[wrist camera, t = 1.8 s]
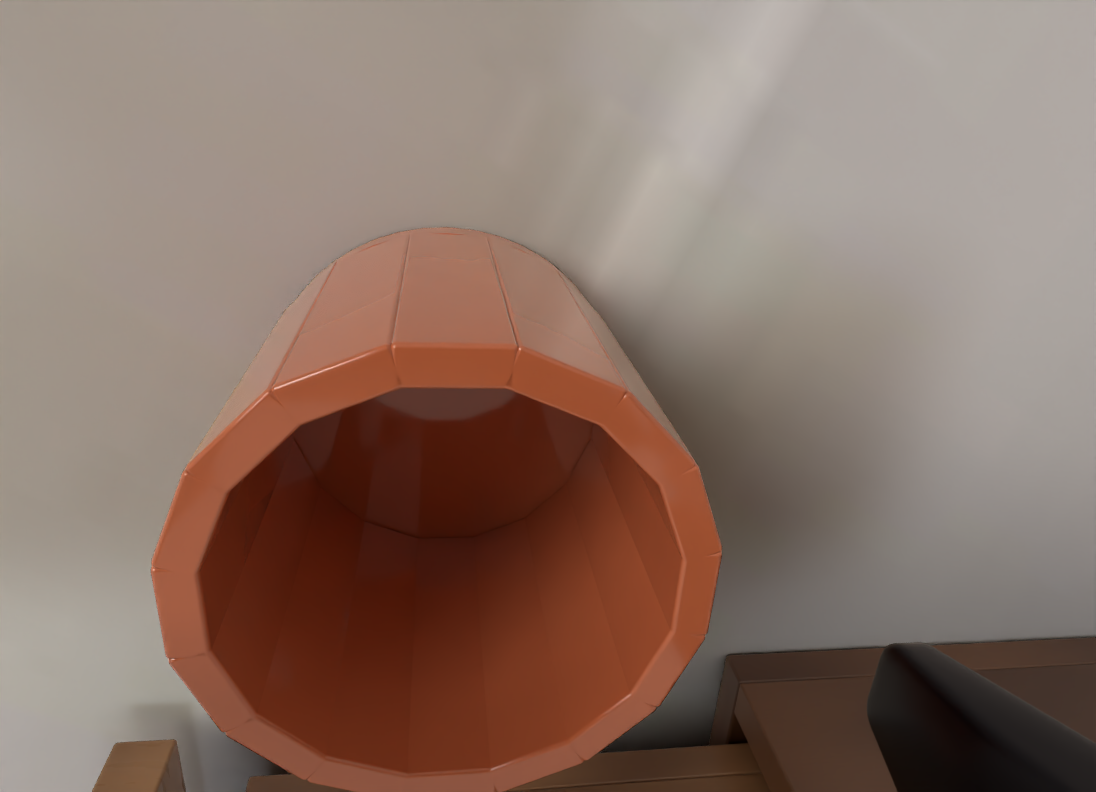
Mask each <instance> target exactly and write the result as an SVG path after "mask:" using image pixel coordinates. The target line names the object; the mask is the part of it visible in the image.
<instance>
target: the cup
mask: <svg viewBox="0 0 1096 792" xmlns="http://www.w3.org/2000/svg"><path fill="white" fill-rule="evenodd" d="M721 551H722V544H721V541H720V537H719V534H718V531H717V527H716V524H715V520H714V517H713V513H712V510H711V507H710V503H709V500H708V496H707V493H706V489H705V486H704V482H703V479H702V476H701V472H700V469H699V466H698V465H697V463H696V462H695V460H694V458H693V456H692V455H691V453H690V452H689V450H688V449H687V447H686V446H685V444H684V443H683V441H682V440H681V438H680V437H679V435H678V433H677V432H676V430H675V429H674V427H673V426H672V424H671V423H670V421H669V420H668V418H667V417H666V415H665V414H664V412H663V411H662V409H661V407H660V406H659V404H658V403H657V401H656V400H655V398H654V397H653V395H652V394H651V392H650V391H649V389H648V388H647V386H646V385H645V383H644V382H643V380H642V378H641V377H640V375H639V374H638V372H637V371H636V369H635V368H634V366H633V365H632V363H631V362H630V360H629V359H628V357H627V356H626V354H625V352H624V351H623V349H622V348H621V346H620V345H619V343H618V342H617V340H616V339H615V337H614V336H613V334H612V333H611V331H610V330H609V328H608V326H607V325H606V323H605V322H604V320H603V319H602V317H601V316H600V315H599V314H598V313H597V312H596V310H595V309H594V308H593V307H592V306H591V305H590V304H589V302H588V301H587V300H586V298H585V297H584V296H583V295H582V293H581V292H580V291H579V290H578V288H577V287H576V286H575V285H574V284H573V283H572V282H571V281H570V280H569V279H568V278H567V277H566V276H565V275H564V274H563V273H562V272H561V271H560V270H559V269H558V268H556V267H555V266H554V265H552V264H551V263H550V262H548V261H547V260H545V259H544V258H543V257H541V256H540V255H538V254H536V253H535V252H533V251H531V250H529V249H527V248H525V247H524V246H522V245H520V244H518V243H515V242H512V241H510V240H507V239H504V238H502V237H499V236H497V235H492V234H488V233H484V232H480V231H475V230H469V229H459V228H450V227H443V228H421V229H415V230H408V231H402V232H397V233H394V234H391V235H387V236H384V237H381V238H377V239H375V240H372V241H370V242H368V243H366V244H364V245H361V246H359V247H357V248H355V249H353V250H351V251H350V252H348V253H346V254H345V255H343V256H342V257H340V258H338V259H337V260H335V261H334V262H332V263H331V264H330V265H329V266H328V267H326V268H325V269H324V270H323V271H322V272H320V273H319V274H318V275H317V276H316V277H315V278H314V279H313V280H312V281H311V282H310V283H309V284H308V286H307V287H306V288H305V289H304V290H303V291H302V292H301V293H300V295H299V296H298V297H297V299H296V300H295V301H294V302H293V303H292V304H291V305H290V306H289V307H288V308H287V309H286V310H285V311H284V313H283V314H282V316H281V317H280V319H279V321H278V322H277V324H276V325H275V327H274V328H273V330H272V332H271V333H270V335H269V336H268V338H267V339H266V341H265V343H264V344H263V346H262V347H261V349H260V350H259V352H258V354H257V355H256V357H255V358H254V360H253V362H252V363H251V365H250V366H249V368H248V369H247V371H246V373H245V374H244V376H243V377H242V379H241V380H240V382H239V384H238V385H237V387H236V388H235V390H234V391H233V393H232V395H231V396H230V398H229V399H228V401H227V402H226V404H225V406H224V407H223V409H222V410H221V412H220V413H219V415H218V417H217V418H216V420H215V421H214V423H213V425H212V426H211V428H210V429H209V431H208V432H207V434H206V436H205V437H204V439H203V440H202V442H201V443H200V445H199V447H198V448H197V450H196V451H195V453H194V454H193V456H192V458H191V459H190V461H189V462H188V464H187V466H186V467H185V469H184V470H183V472H182V474H181V477H180V480H179V483H178V486H177V488H176V491H175V494H174V497H173V500H172V503H171V506H170V508H169V511H168V514H167V517H166V520H165V523H164V526H163V528H162V531H161V534H160V537H159V540H158V543H157V546H156V548H155V551H154V554H153V557H152V560H151V563H152V567H151V576H152V581H153V587H154V592H155V598H156V603H157V609H158V615H159V620H160V626H161V631H162V637H163V642H164V648H165V654H166V657H167V658H168V659H169V664H170V665H171V667H172V668H173V669H174V670H175V672H176V673H177V674H178V676H179V677H180V678H181V680H182V681H183V682H184V684H185V685H186V686H187V687H188V689H189V690H190V691H191V693H192V694H193V695H194V697H195V698H196V699H197V700H198V702H199V703H200V704H201V706H202V707H203V708H204V710H205V711H206V712H207V714H208V715H209V716H210V717H211V719H212V720H213V721H214V723H215V724H216V725H217V727H218V728H219V729H220V730H221V731H222V732H225V734H226V735H227V737H229V738H231V739H233V740H234V741H236V742H238V743H239V744H241V745H243V746H245V747H246V748H248V749H250V750H251V751H253V752H255V753H257V754H258V755H260V756H262V757H264V758H265V759H267V760H269V761H270V762H272V763H274V764H276V765H277V766H279V767H281V768H282V769H284V770H286V771H288V772H289V773H291V774H293V775H295V776H296V777H298V778H300V779H301V780H307V781H308V782H310V783H313V784H318V785H323V786H328V787H332V788H337V789H342V790H347V791H351V792H505V791H508V790H511V789H513V788H516V787H519V786H522V785H524V784H527V783H530V782H533V781H535V780H538V779H541V778H544V777H547V776H549V775H552V774H555V773H558V772H560V771H563V770H566V769H569V768H571V767H574V766H577V765H580V764H582V763H583V762H584V760H585V761H587V760H589V759H591V758H592V757H593V756H595V755H596V754H597V753H599V752H600V751H601V750H603V749H604V748H606V747H607V746H608V745H610V744H611V743H612V742H614V741H615V740H616V739H618V738H619V737H620V736H622V735H623V734H624V733H626V732H627V731H628V730H630V729H631V728H632V727H634V726H635V725H636V724H638V723H639V722H640V721H642V720H643V719H645V718H646V717H647V716H649V715H650V714H651V713H653V712H654V711H655V710H656V707H658V706H660V705H661V703H662V702H663V700H664V699H665V697H666V696H667V695H668V693H669V692H670V690H671V689H672V687H673V686H674V684H675V683H676V681H677V680H678V678H679V677H680V675H681V674H682V672H683V671H684V669H685V668H686V666H687V665H688V663H689V662H690V660H691V659H692V657H693V656H694V654H695V653H696V651H697V650H698V648H699V647H700V645H701V644H702V643H703V641H704V640H705V635H706V634H707V632H708V627H709V622H710V617H711V611H712V606H713V601H714V595H715V590H716V584H717V579H718V574H719V568H720V563H721V558H722V552H721Z"/></svg>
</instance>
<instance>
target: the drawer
mask: <svg viewBox="0 0 1096 792" xmlns="http://www.w3.org/2000/svg"><path fill="white" fill-rule="evenodd" d="M92 792H186V790H185V784H184V779H183V773H182V768H181V762H180V757H179V751H178V746H177V741H176V740H174V739H170V740H154V741H137V742H120V743H116V744H115V745H114V746H113V749H112V751H111V753H110V755H109V757H108V759H107V761H106V763H105V765H104V767H103V769H102V771H101V774H100V776H99V778H98V780H97V782H96V784H95V786H94V788H93V790H92ZM246 792H351V791H347V790H342V789H337V788H332V787H328V786H323V785H318V784H313V783H310V782H308V781H307V780H301V779H300V778H298V777H296V776H295V775H293V774H282V775H267V776H252V777H250V778H249V780H248V784H247V788H246ZM505 792H770V789H769V787H768V785H767V783H766V781H765V778H764V776H763V774H762V772H761V770H760V768H759V765H758V763H757V761H756V759H755V757H754V755H753V752H752V750H751V748H750V746H749V744H748V743H740V744H725V745H710V746H695V747H681V748H666V749H651V750H636V751H621V752H607V753H597V754H596V755H595V756H593V757H592V758H591V759H589V760H587V761H585V760H584V762H583V763H582V764H580V765H577V766H574V767H571V768H569V769H566V770H563V771H560V772H558V773H555V774H552V775H549V776H547V777H544V778H541V779H538V780H535V781H533V782H530V783H527V784H524V785H522V786H519V787H516V788H513V789H511V790H508V791H505Z"/></svg>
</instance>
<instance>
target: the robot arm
mask: <svg viewBox="0 0 1096 792" xmlns="http://www.w3.org/2000/svg"><path fill="white" fill-rule="evenodd" d="M867 716H868V720H869V724H870V727H871V729H872V732H873V734H874V736H875V739H876V741H877V744H878V746H879V749H880V751H881V753H882V756H883V758H884V761H885V763H886V766H887V768H888V770H889V773H890V775H891V778H892V780H893V783H894V785H895V787H896V790H897V792H1096V743H1095V742H1093V741H1091V740H1090V739H1088V738H1086V737H1085V736H1083V735H1081V734H1080V733H1078V732H1076V731H1075V730H1073V729H1071V728H1069V727H1068V726H1066V725H1064V724H1063V723H1061V722H1059V721H1058V720H1056V719H1054V718H1053V717H1051V716H1049V715H1047V714H1046V713H1044V712H1042V711H1041V710H1039V709H1037V708H1036V707H1034V706H1032V705H1031V704H1029V703H1027V702H1025V701H1024V700H1022V699H1020V698H1019V697H1017V696H1015V695H1014V694H1012V693H1010V692H1009V691H1007V690H1005V689H1003V688H1002V687H1000V686H998V685H997V684H995V683H993V682H992V681H990V680H988V679H987V678H985V677H983V676H981V675H980V674H978V673H976V672H975V671H973V670H971V669H970V668H968V667H966V666H965V665H963V664H961V663H959V662H958V661H956V660H954V659H953V658H951V657H949V656H948V655H946V654H944V653H943V652H941V651H939V650H937V649H936V648H934V647H932V646H930V645H929V644H926V643H920V642H914V643H894V644H890V645H888V646H887V647H886V648H885V649H884V650H883V651H882V653H881V656H880V659H879V663H878V666H877V669H876V672H875V676H874V679H873V682H872V685H871V689H870V692H869V695H868V699H867Z"/></svg>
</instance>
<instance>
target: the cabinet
mask: <svg viewBox="0 0 1096 792" xmlns="http://www.w3.org/2000/svg"><path fill="white" fill-rule="evenodd" d="M930 646H932V647H934V648H936V649H937V650H939V651H941V652H943V653H944V654H946V655H948V656H949V657H951V658H953V659H954V660H956V661H958V662H959V663H961V664H963V665H965V666H966V667H968V668H970V669H971V670H973V671H975V672H976V673H978V674H980V675H981V676H983V677H985V678H987V679H988V680H990V681H992V682H993V683H995V684H997V685H998V686H1000V687H1002V688H1003V689H1005V690H1007V691H1009V692H1010V693H1012V694H1014V695H1015V696H1017V697H1019V698H1020V699H1022V700H1024V701H1025V702H1027V703H1029V704H1031V705H1032V706H1034V707H1036V708H1037V709H1039V710H1041V711H1042V712H1044V713H1046V714H1047V715H1049V716H1051V717H1053V718H1054V719H1056V720H1058V721H1059V722H1061V723H1063V724H1064V725H1066V726H1068V727H1069V728H1071V729H1073V730H1075V731H1076V732H1078V733H1080V734H1081V735H1083V736H1085V737H1086V738H1088V739H1090V740H1091V741H1093V742H1095V743H1096V637H1090V638H1069V639H1049V640H1029V641H1009V642H988V643H968V644H948V645H930ZM884 649H885V648H867V649H846V650H826V651H806V652H785V653H765V654H745V655H728V656H727V657H726V661H725V666H724V671H723V676H722V681H721V686H720V691H719V696H718V701H717V706H716V711H715V716H714V721H713V725H712V730H711V735H710V740H709V745H708V746H710V745H725V744H740V743H748V744H749V746H750V748H751V750H752V752H753V755H754V757H755V759H756V761H757V763H758V765H759V768H760V770H761V772H762V774H763V776H764V778H765V781H766V783H767V785H768V787H769V789H770V792H897V790H896V787H895V785H894V783H893V780H892V778H891V775H890V773H889V770H888V768H887V766H886V763H885V761H884V758H883V756H882V753H881V751H880V749H879V746H878V744H877V741H876V739H875V736H874V734H873V732H872V729H871V727H870V724H869V720H868V716H867V699H868V695H869V692H870V689H871V685H872V682H873V679H874V676H875V672H876V669H877V666H878V663H879V659H880V656H881V653H882V651H883V650H884Z"/></svg>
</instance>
